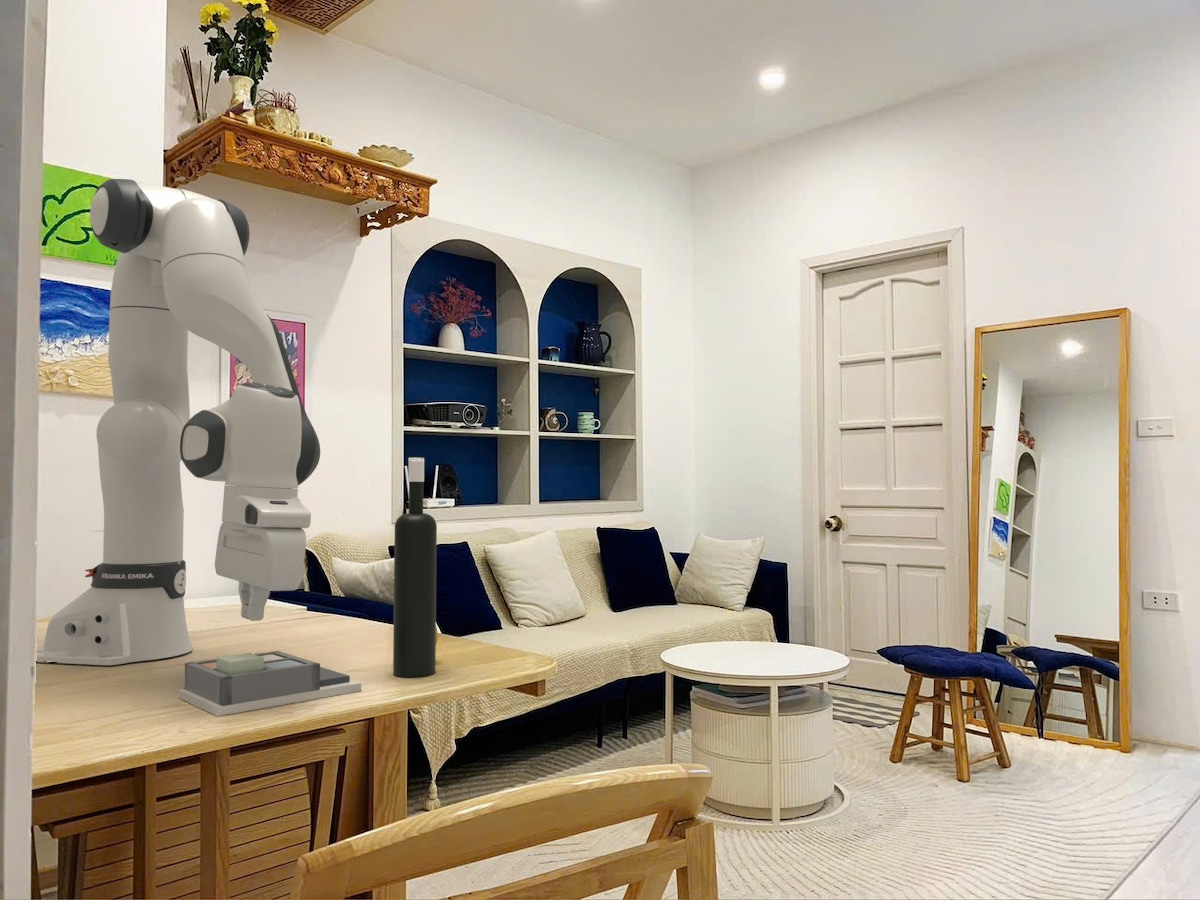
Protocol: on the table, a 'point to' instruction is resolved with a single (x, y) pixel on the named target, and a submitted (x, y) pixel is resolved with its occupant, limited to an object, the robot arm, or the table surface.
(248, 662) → the key sage
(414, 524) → the wine bottle
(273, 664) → the key slate
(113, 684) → the table surface
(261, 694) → the keypad
